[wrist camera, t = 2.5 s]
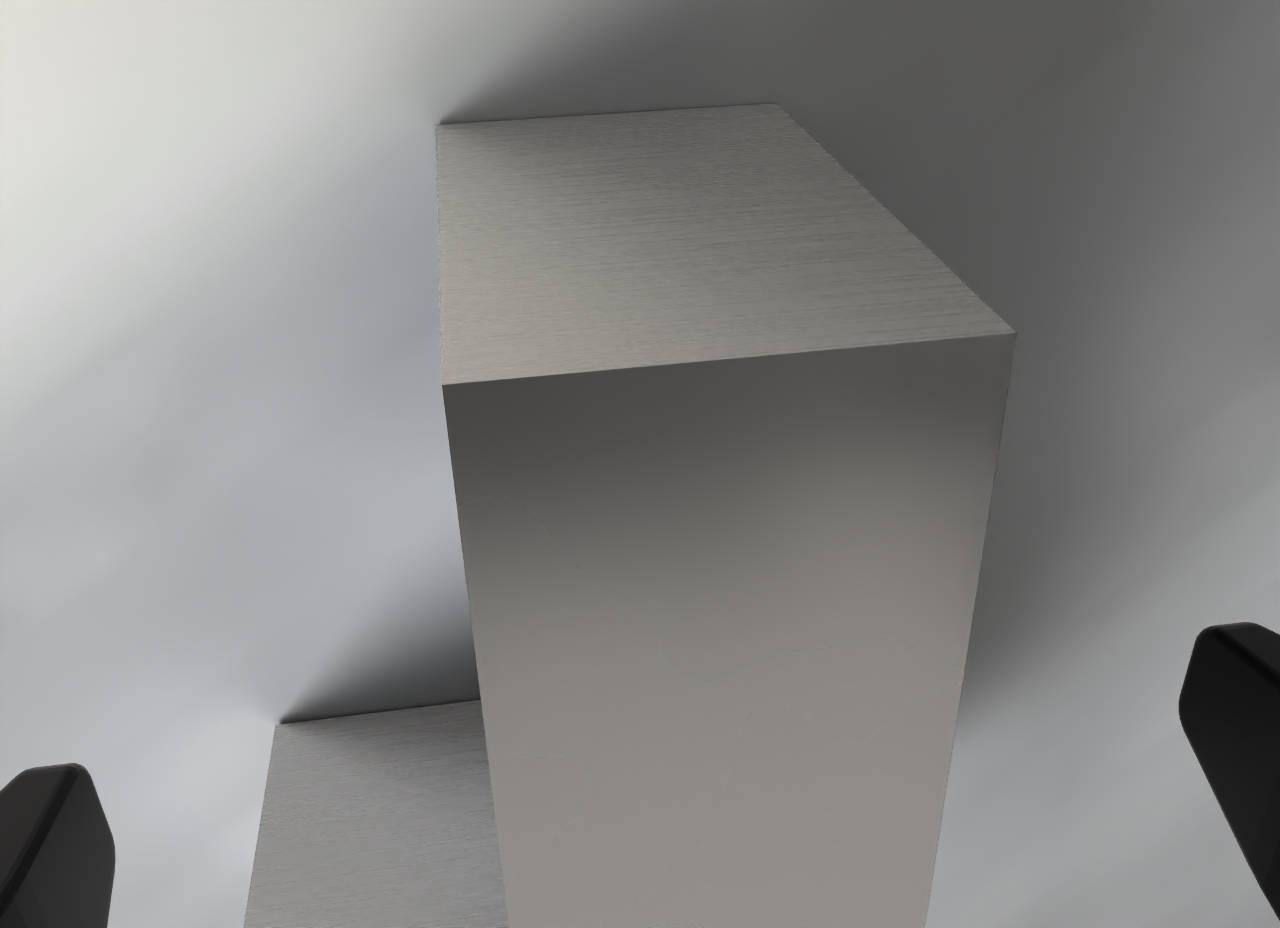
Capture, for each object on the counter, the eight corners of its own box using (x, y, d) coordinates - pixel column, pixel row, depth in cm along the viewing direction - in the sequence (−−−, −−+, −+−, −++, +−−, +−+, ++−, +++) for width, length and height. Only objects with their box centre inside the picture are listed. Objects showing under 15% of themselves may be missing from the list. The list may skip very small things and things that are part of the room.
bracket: (750, 816, 15) (879, 1229, 11) (313, 876, 14) (264, 1341, 10) (776, 102, 10) (1016, 332, 6) (132, 144, 10) (-95, 434, 6)
